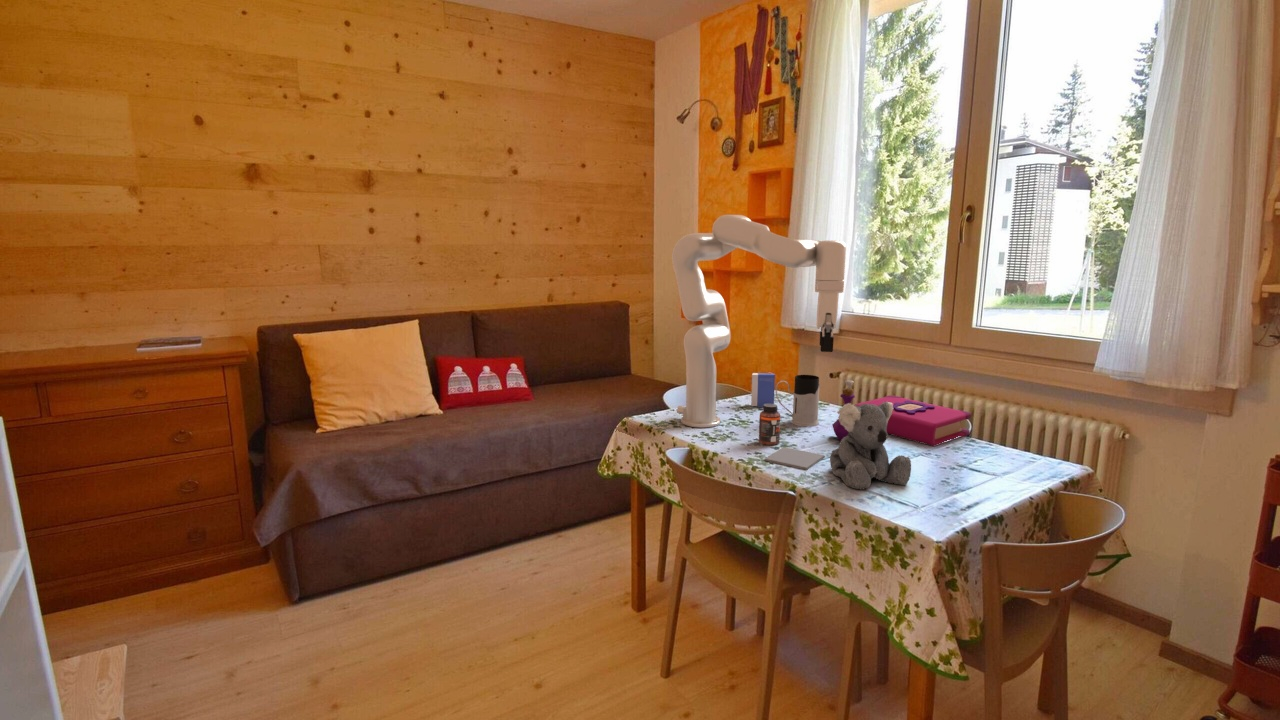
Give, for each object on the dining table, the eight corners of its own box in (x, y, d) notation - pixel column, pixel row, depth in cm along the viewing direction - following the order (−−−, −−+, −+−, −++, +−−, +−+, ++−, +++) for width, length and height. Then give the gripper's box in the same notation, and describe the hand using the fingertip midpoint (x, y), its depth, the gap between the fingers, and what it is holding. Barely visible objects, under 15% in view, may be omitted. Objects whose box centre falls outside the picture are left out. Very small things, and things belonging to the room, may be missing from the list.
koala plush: (853, 493, 157) (858, 413, 153) (813, 468, 173) (816, 395, 170) (915, 485, 161) (921, 407, 158) (870, 461, 178) (875, 390, 175)
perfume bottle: (831, 434, 201) (834, 376, 198) (857, 436, 200) (861, 377, 196) (833, 442, 194) (836, 382, 191) (860, 444, 192) (864, 383, 189)
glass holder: (822, 426, 210) (824, 380, 207) (776, 426, 210) (778, 380, 207) (815, 418, 218) (817, 374, 216) (772, 418, 219) (773, 374, 216)
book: (932, 448, 190) (934, 422, 188) (850, 425, 212) (851, 402, 211) (971, 435, 202) (973, 411, 200) (890, 415, 224) (891, 393, 223)
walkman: (773, 405, 235) (774, 372, 233) (773, 407, 233) (775, 374, 230) (750, 405, 236) (751, 372, 234) (751, 407, 233) (752, 373, 231)
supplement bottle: (779, 446, 191) (780, 408, 189) (758, 445, 192) (759, 407, 190) (779, 440, 197) (780, 402, 194) (758, 438, 198) (760, 402, 196)
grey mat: (764, 460, 179) (764, 458, 179) (783, 449, 188) (783, 447, 188) (807, 469, 172) (807, 467, 172) (824, 457, 181) (824, 455, 181)
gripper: (814, 283, 190) (811, 343, 193) (815, 289, 174) (812, 353, 177) (841, 284, 188) (838, 344, 192) (845, 289, 172) (841, 354, 175)
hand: (825, 348), depth 184 cm, fingers open, 9 cm apart
